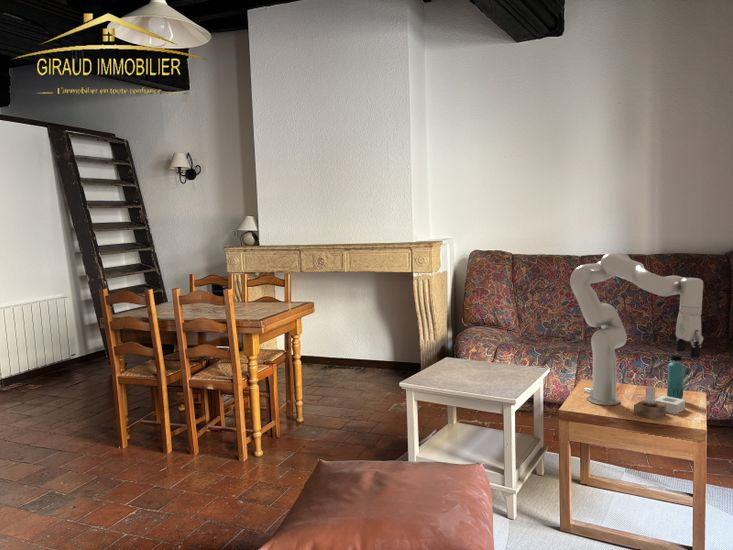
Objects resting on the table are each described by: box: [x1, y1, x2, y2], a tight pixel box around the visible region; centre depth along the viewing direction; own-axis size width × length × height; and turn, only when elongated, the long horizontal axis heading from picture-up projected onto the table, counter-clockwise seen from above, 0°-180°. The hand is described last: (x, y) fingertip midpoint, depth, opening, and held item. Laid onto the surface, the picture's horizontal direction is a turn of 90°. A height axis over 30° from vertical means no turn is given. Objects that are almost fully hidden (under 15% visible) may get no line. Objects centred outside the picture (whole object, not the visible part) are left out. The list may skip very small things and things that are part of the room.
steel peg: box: [645, 386, 656, 407], centre depth 245 cm, size 3×3×11 cm
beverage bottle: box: [666, 354, 685, 399], centre depth 262 cm, size 6×7×20 cm
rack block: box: [655, 395, 686, 415], centre depth 251 cm, size 9×9×4 cm
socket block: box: [633, 399, 667, 421], centre depth 245 cm, size 9×9×4 cm
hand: (687, 354), depth 235 cm, fingers open, 9 cm apart
